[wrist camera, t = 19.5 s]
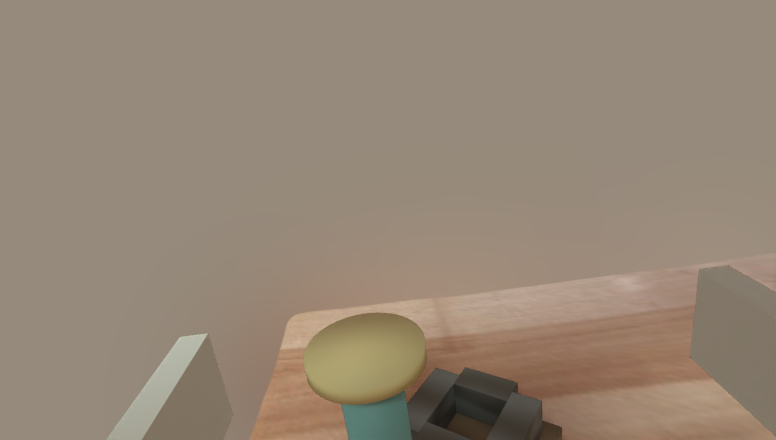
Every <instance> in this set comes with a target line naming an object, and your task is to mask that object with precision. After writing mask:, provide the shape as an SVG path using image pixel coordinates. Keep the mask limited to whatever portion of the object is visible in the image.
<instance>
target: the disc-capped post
mask: <svg viewBox="0 0 776 440" xmlns="http://www.w3.org/2000/svg"><path fill="white" fill-rule="evenodd" d="M426 362H427V353H426V345H425V337H424V334H423V332H422V330H421V328H420V327H419V326H418V325H417V324H416V323H414V322H413V321H411V320H410V319H408V318H405V317H403V316H399V315H395V314H389V313H367V314H360V315H355V316H351V317H348V318H345V319H342V320H340V321H337V322H335V323H333V324H331V325H329V326H327V327H326V328H324V329H323V330H321V331H320V332H319V333H318V334H316V335H315V336H314V337H313V338H312V340H311V341H310V342H309V344H308V345H307V347H306V349H305V352H304V356H303V363H304V368H305V372H306V376H307V380H308V383H309V385H310V387H311V388H312V390H313V391H314V392H315V393H316V394H318V395H319V396H320V397H322V398H324V399H326V400H329V401H332V402H335V403H340V404H342V409H343V414H344V419H345V424H346V429H347V433H348V438H349V440H412V437H411V430H410V423H409V416H408V409H407V403H406V396H405V389H407V388H408V387H410V386H411V385H412V384H413V383H414V382H415V381H416V380H417V379H418V378H419V377H420V375H421V374H422V372H423V370H424V368H425V366H426Z"/></svg>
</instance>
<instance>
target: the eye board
mask: <svg viewBox="0 0 776 440" xmlns="http://www.w3.org/2000/svg"><path fill="white" fill-rule="evenodd" d="M407 409H408V416H409V423H410V430H411V437H412V440H562V427H559V426H557V425H554V424H551V423H548V422H545V421H542V401H540V400H537V399H534V398H531V397H528V396H524V395H521V394H518V385H517V383H516V382H513V381H510V380H506V379H503V378H500V377H496V376H493V375H490V374H486V373H483V372H480V371H476V370H473V369H469V368H466V367H465V369H464V370H463V371H462V373H461V374H460V375H457V374H454V373H451V372H447V371H444V370H441V369H438V368H435V370H434V371H433V372H432V373H431V375H430V376H429V377H428V378H427V379H426V381H425V382H424V383H423V384H422V386H421V387H420V388H419V389H418V391H417V392H416V393H415V394H414V396H413V397H412V398H411V399H410V401H409V402H408V403H407Z"/></svg>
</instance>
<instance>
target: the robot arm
mask: <svg viewBox="0 0 776 440" xmlns="http://www.w3.org/2000/svg"><path fill="white" fill-rule="evenodd" d="M690 358H691V359H693V360H694V361H695V362H696V363H697V364H698V365H699V366H700V367H701V368H702V369H703V370H704V371H706V372H707V373H708V374H709V375H710V376H711V377H712V378H713V379H714V380H715V381H716V382H717V383H719V384H720V385H721V386H722V387H723V388H724V389H725V390H726V391H727V392H728V393H729V394H730V395H731V396H733V397H734V398H735V399H736V400H737V401H738V402H739V403H740V404H741V405H742V406H743V407H744V408H746V409H747V410H748V411H749V412H750V413H751V414H752V415H753V416H754V417H755V418H756V419H757V420H759V421H760V422H761V423H762V424H763V425H764V426H765V427H766V428H767V429H768V430H769V431H770V432H772V433H773V434H774V435H775V436H776V292H775V291H773V290H771V289H769V288H767V287H766V286H764V285H762V284H760V283H759V282H757V281H755V280H753V279H751V278H750V277H748V276H746V275H744V274H743V273H741V272H739V271H737V270H736V269H734V268H732V267H730V266H722V267H714V268H706V269H699V277H698V286H697V295H696V305H695V314H694V323H693V332H692V341H691V350H690ZM232 417H233V412H232V409H231V406H230V402H229V399H228V396H227V393H226V390H225V386H224V383H223V380H222V377H221V373H220V370H219V367H218V364H217V361H216V358H215V354H214V351H213V348H212V344H211V341H210V338H209V334H208V333H207V334H201V335H192V336H184V337H180V338H179V339H178V341H177V342H176V343H175V345H174V346H173V348H172V349H171V351H170V352H169V353H168V355H167V356H166V357H165V359H164V360H163V361H162V363H161V364H160V366H159V367H158V368H157V370H156V371H155V373H154V374H153V375H152V377H151V378H150V380H149V381H148V382H147V384H146V385H145V387H144V388H143V389H142V391H141V392H140V394H139V395H138V396H137V398H136V399H135V400H134V402H133V403H132V405H131V406H130V407H129V409H128V410H127V411H126V413H125V414H124V416H123V417H122V418H121V420H120V421H119V423H118V424H117V425H116V427H115V428H114V430H113V431H112V432H111V434H110V435H109V436H108V438H107V439H106V440H223V439H224V437H225V434H226V431H227V429H228V427H229V424H230V422H231V419H232Z"/></svg>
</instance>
